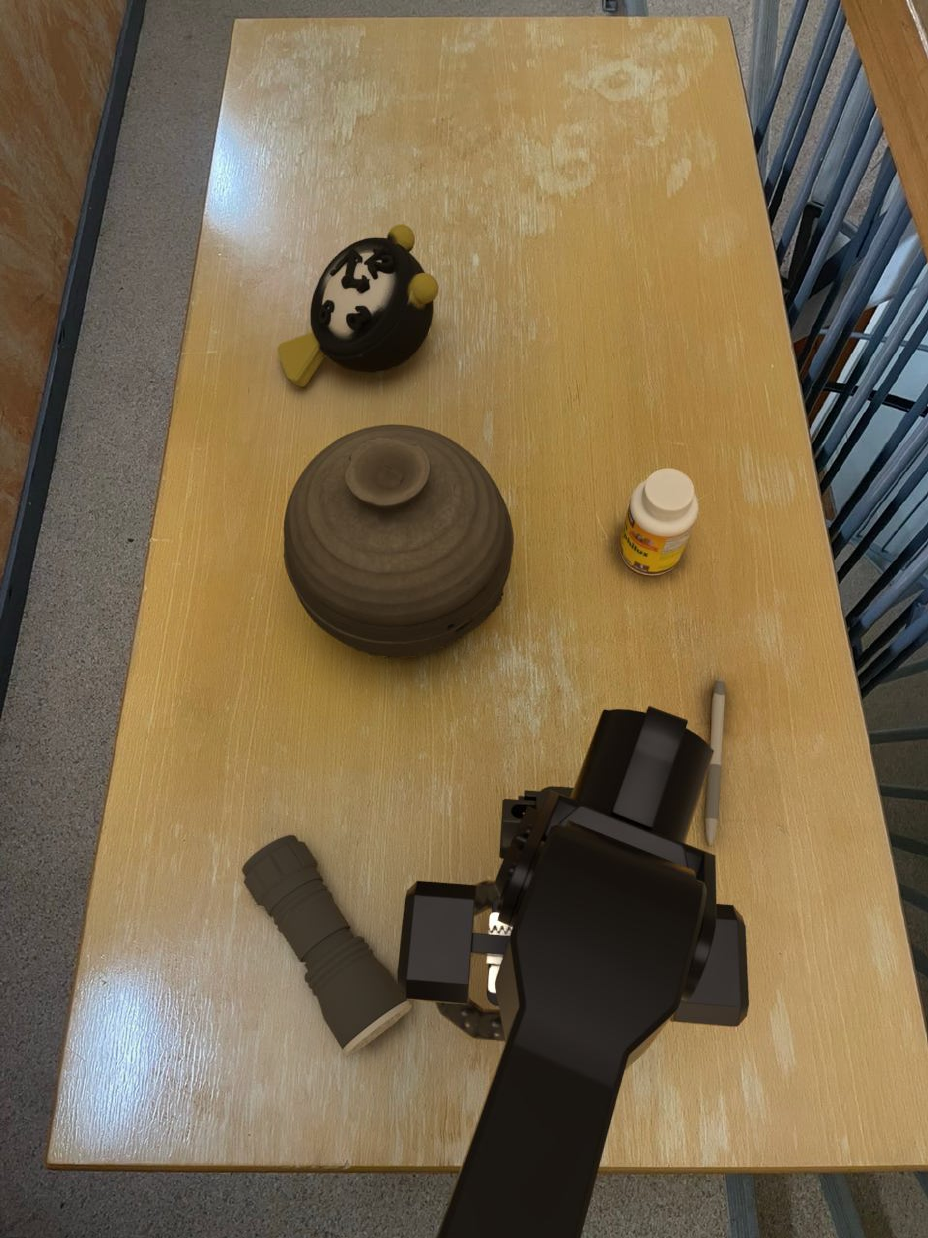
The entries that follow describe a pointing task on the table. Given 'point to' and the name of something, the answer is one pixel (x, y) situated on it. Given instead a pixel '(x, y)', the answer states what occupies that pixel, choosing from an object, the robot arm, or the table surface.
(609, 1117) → the robot arm
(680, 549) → the supplement bottle
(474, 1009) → the studded brown bangle
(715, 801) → the pen
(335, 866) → the table surface
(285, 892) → the flashlight
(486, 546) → the pot
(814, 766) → the table surface
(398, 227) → the alarm clock
